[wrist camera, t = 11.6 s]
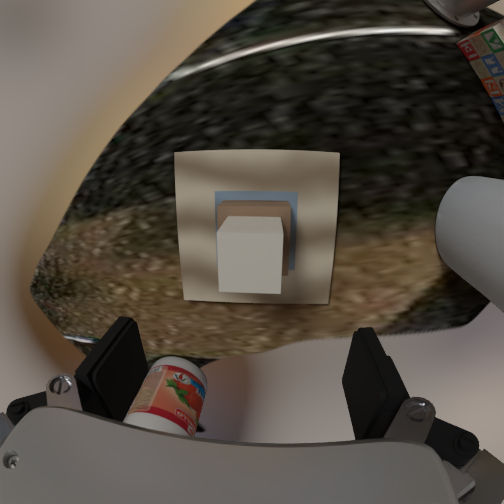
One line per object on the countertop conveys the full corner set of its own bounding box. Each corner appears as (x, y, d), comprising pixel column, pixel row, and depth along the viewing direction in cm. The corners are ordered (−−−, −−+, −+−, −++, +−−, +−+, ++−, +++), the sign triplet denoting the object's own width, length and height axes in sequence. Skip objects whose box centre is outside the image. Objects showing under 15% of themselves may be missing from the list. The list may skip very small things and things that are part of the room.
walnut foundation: (223, 200, 30) (217, 206, 27) (288, 200, 30) (290, 207, 26) (225, 260, 33) (219, 274, 29) (286, 261, 32) (288, 275, 29)
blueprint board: (177, 152, 30) (174, 152, 29) (337, 153, 29) (339, 153, 28) (186, 296, 36) (184, 299, 35) (326, 300, 35) (327, 304, 34)
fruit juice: (145, 352, 40) (65, 502, 13) (203, 356, 39) (147, 535, 13) (160, 393, 43) (106, 528, 16) (212, 397, 42) (177, 550, 16)
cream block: (228, 216, 27) (216, 232, 21) (280, 217, 27) (283, 233, 21) (229, 264, 29) (218, 291, 23) (278, 266, 28) (280, 293, 23)
